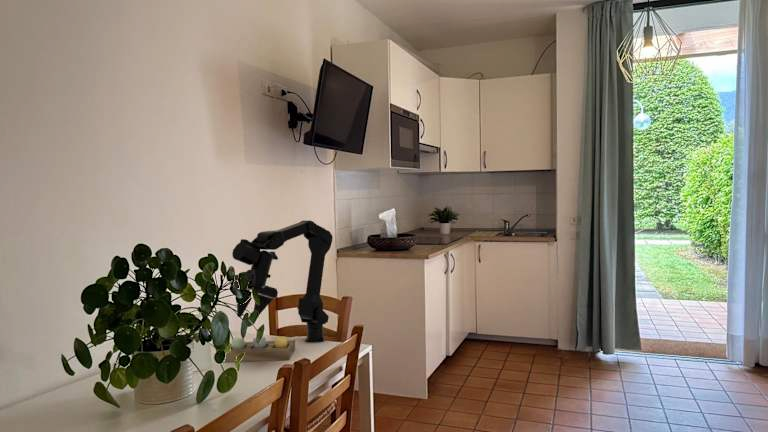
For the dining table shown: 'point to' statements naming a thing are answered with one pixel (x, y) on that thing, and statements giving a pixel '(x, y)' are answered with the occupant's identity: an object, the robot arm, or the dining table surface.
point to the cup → (202, 353)
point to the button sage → (238, 343)
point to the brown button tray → (262, 352)
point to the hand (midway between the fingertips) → (246, 317)
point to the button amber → (281, 342)
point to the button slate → (261, 345)
